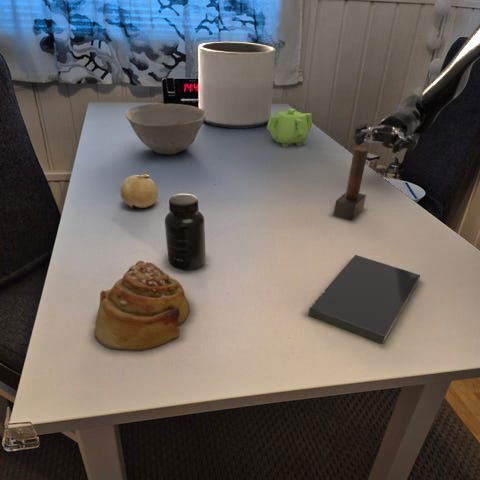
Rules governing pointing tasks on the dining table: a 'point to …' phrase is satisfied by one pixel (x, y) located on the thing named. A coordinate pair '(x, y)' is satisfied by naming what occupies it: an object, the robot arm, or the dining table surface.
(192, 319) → the dining table surface
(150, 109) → the ceramic bowl
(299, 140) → the teapot
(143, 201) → the onion
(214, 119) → the planter
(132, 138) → the dining table surface
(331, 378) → the dining table surface
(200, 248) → the supplement bottle
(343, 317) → the slate board
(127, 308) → the pastry
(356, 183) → the wooden mallet
